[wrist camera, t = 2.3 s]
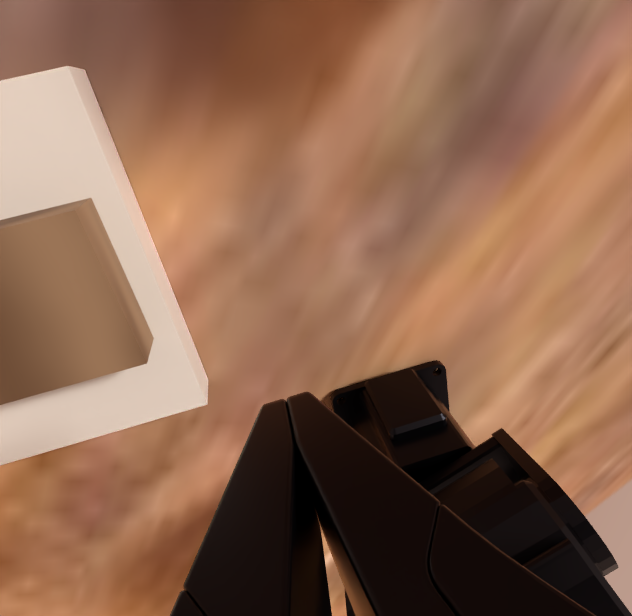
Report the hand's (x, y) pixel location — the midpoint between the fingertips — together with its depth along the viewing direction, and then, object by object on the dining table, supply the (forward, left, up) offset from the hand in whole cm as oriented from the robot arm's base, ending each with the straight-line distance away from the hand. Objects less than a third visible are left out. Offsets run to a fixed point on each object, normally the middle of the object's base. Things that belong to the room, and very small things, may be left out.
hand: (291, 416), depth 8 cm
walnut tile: (0, +9, -11) cm, 14 cm away
